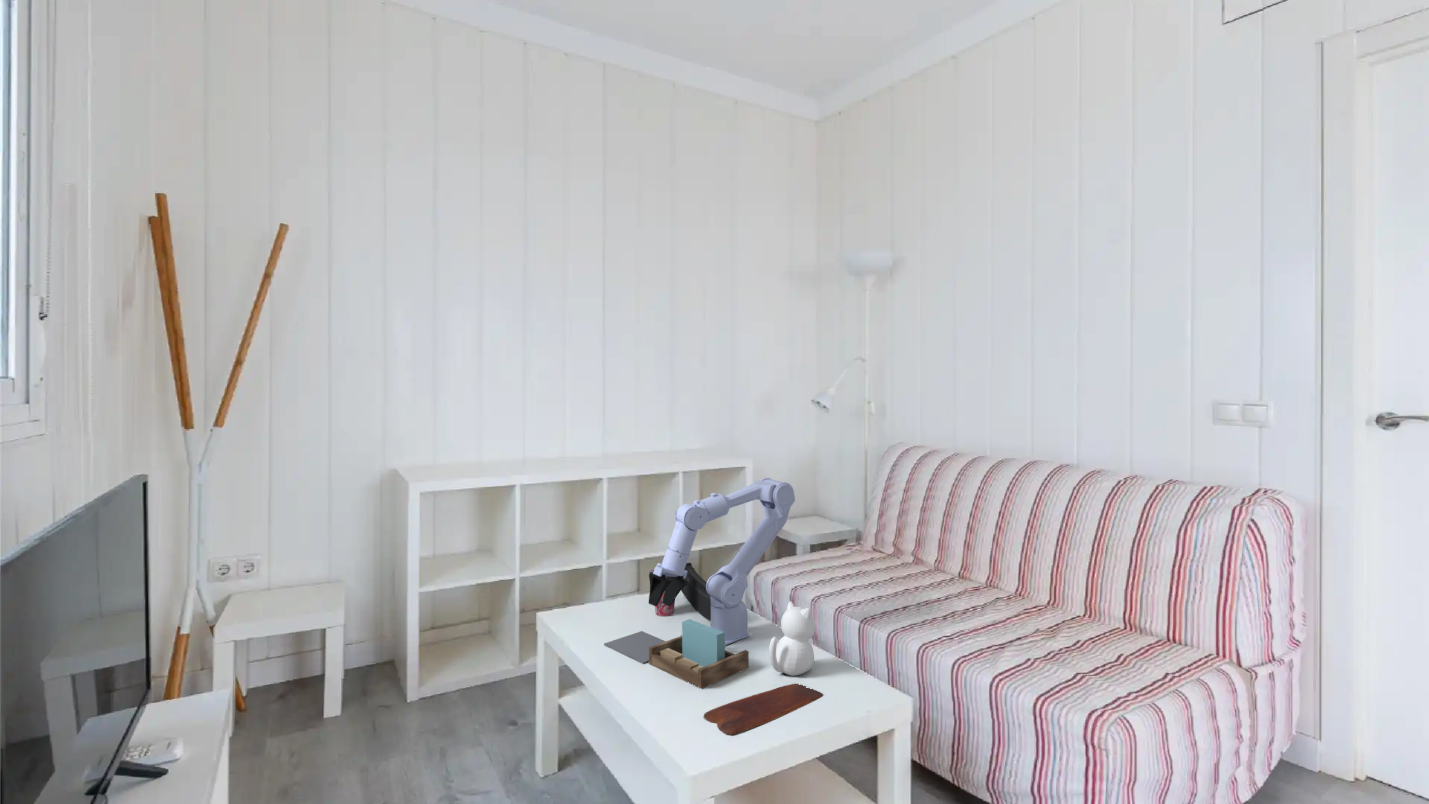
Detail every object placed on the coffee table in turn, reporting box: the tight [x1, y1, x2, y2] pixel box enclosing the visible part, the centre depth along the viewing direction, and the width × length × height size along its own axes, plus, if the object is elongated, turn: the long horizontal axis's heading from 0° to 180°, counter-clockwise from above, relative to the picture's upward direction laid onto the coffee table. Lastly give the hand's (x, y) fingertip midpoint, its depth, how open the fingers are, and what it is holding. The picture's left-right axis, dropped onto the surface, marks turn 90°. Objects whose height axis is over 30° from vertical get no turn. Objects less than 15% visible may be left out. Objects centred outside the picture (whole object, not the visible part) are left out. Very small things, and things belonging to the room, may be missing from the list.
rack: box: [648, 635, 750, 689], centre depth 163 cm, size 15×18×4 cm
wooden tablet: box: [703, 683, 824, 737], centre depth 144 cm, size 27×10×2 cm, turn 127°
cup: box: [649, 569, 676, 617], centre depth 199 cm, size 9×8×12 cm
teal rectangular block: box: [681, 618, 726, 667], centre depth 164 cm, size 2×12×9 cm, turn 44°
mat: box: [603, 630, 667, 665], centre depth 175 cm, size 12×16×1 cm
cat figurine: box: [768, 600, 816, 677], centre depth 160 cm, size 9×12×15 cm
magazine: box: [680, 562, 711, 622], centre depth 200 cm, size 17×3×30 cm
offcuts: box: [660, 648, 702, 673], centre depth 161 cm, size 2×15×3 cm, turn 44°
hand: (659, 604), depth 172 cm, fingers open, 7 cm apart
